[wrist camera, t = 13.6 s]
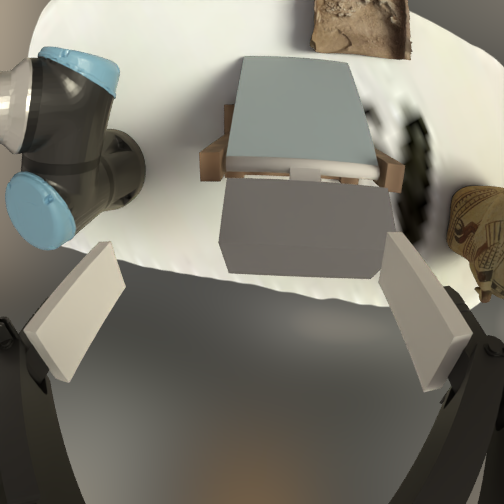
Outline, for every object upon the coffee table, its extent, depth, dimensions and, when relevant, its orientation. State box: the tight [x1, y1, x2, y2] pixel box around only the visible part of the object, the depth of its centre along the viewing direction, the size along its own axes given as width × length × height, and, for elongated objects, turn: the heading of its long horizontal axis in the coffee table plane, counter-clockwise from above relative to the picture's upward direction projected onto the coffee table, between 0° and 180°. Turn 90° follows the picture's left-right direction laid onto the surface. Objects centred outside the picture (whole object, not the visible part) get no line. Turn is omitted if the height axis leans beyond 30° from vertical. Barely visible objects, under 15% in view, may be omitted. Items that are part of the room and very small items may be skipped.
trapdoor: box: [219, 56, 396, 279], centre depth 31 cm, size 16×33×7 cm
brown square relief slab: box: [310, 0, 412, 60], centre depth 31 cm, size 17×4×15 cm
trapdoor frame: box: [199, 104, 405, 193], centre depth 36 cm, size 22×12×20 cm, turn 90°
